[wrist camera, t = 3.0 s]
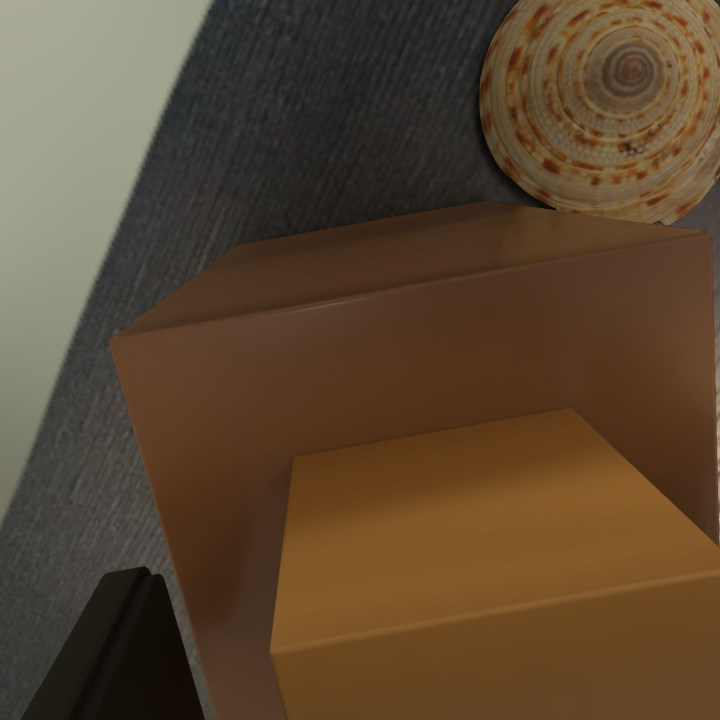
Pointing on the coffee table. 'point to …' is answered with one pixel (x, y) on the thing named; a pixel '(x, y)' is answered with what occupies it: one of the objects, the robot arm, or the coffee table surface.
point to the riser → (403, 380)
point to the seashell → (607, 104)
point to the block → (492, 582)
